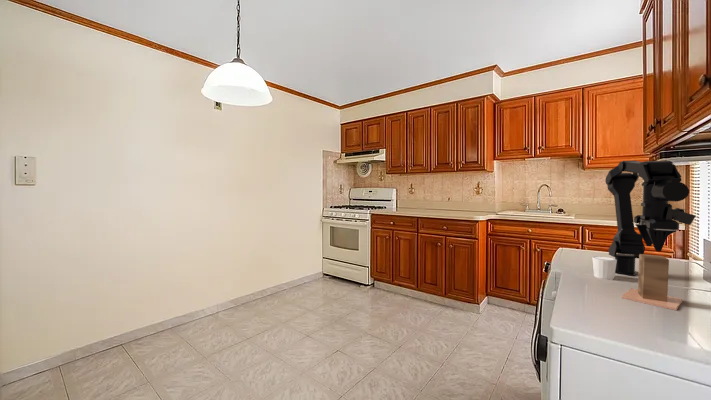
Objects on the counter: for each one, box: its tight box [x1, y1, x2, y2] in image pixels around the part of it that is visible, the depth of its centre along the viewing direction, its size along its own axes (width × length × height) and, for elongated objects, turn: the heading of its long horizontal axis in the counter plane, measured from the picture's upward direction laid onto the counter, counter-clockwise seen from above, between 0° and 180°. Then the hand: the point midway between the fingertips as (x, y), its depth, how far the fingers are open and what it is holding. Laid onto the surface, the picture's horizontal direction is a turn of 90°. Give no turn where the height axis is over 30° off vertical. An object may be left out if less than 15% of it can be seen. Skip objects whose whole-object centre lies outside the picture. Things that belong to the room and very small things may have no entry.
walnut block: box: [637, 253, 670, 302], centre depth 85 cm, size 5×5×12 cm
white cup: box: [591, 255, 617, 280], centre depth 107 cm, size 7×7×7 cm
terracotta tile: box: [621, 288, 684, 311], centre depth 86 cm, size 11×11×1 cm
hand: (653, 248), depth 94 cm, fingers open, 9 cm apart
